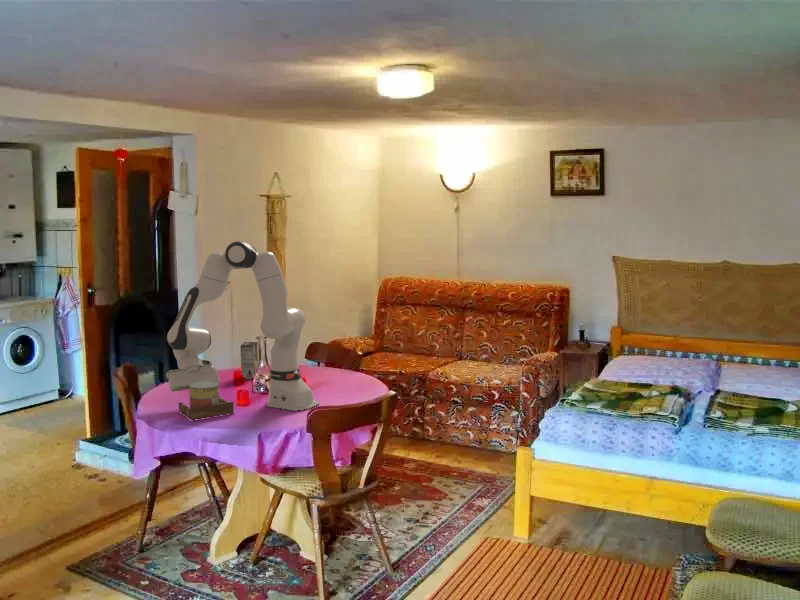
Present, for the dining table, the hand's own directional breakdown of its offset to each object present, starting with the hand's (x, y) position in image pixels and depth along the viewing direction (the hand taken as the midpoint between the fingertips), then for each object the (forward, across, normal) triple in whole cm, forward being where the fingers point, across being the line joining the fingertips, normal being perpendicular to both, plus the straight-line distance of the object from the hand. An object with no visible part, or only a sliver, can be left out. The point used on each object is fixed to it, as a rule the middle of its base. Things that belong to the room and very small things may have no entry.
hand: (199, 396), depth 306 cm
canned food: (+9, 0, -1) cm, 9 cm away
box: (+9, 0, -1) cm, 9 cm away
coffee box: (-24, +39, +32) cm, 56 cm away
